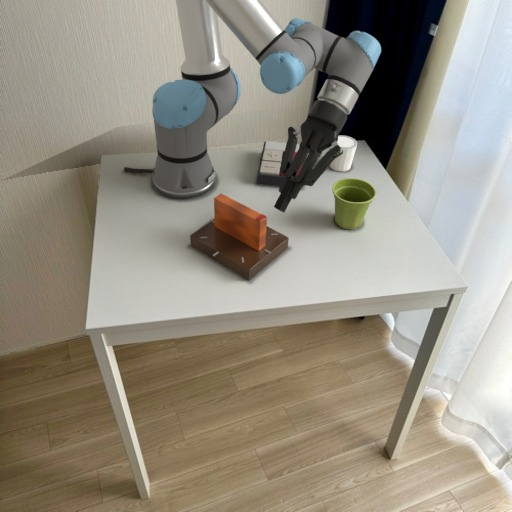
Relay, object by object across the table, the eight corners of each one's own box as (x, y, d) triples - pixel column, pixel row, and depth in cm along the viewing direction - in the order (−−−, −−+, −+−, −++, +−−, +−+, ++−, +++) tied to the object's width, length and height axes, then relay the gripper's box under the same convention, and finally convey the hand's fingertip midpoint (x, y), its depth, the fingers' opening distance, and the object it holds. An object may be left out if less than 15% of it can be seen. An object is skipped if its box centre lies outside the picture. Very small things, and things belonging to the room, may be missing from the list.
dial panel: (184, 249, 109) (184, 238, 107) (234, 214, 119) (235, 203, 117) (244, 285, 102) (244, 274, 100) (292, 244, 112) (293, 233, 110)
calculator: (257, 171, 126) (264, 138, 136) (256, 186, 129) (263, 152, 139) (302, 176, 125) (306, 142, 135) (301, 190, 128) (304, 156, 138)
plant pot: (367, 237, 114) (375, 205, 109) (325, 230, 116) (330, 199, 110) (369, 212, 121) (377, 181, 115) (329, 206, 122) (334, 175, 117)
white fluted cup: (354, 160, 138) (358, 137, 133) (351, 174, 133) (356, 150, 128) (328, 156, 139) (331, 133, 134) (325, 170, 134) (328, 146, 129)
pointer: (214, 226, 111) (213, 196, 105) (221, 221, 112) (221, 192, 107) (258, 251, 105) (260, 221, 100) (265, 245, 107) (267, 215, 101)
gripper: (299, 90, 107) (246, 193, 108) (355, 110, 101) (298, 218, 102) (311, 105, 113) (261, 202, 115) (364, 125, 108) (310, 226, 109)
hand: (279, 209), depth 108 cm, fingers closed
